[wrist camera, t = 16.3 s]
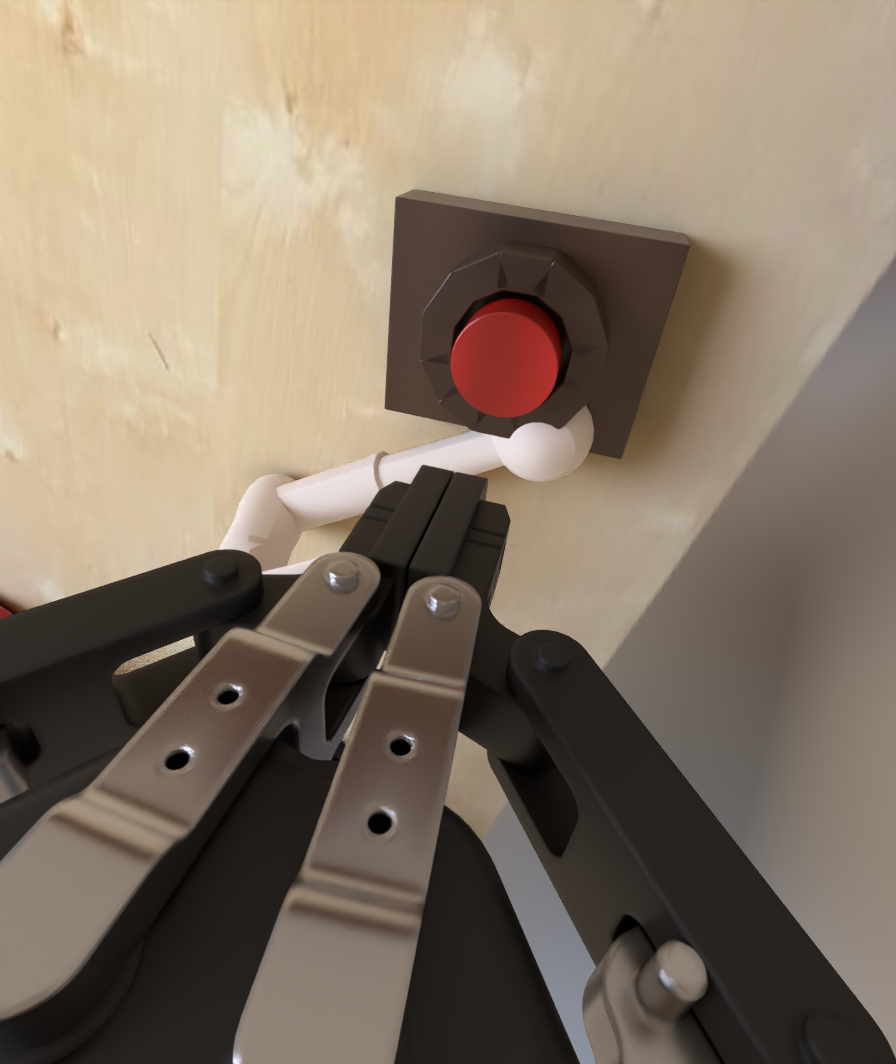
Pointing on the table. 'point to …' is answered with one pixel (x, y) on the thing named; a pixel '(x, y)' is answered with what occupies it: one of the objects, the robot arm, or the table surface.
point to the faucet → (347, 490)
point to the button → (507, 358)
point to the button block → (540, 278)
